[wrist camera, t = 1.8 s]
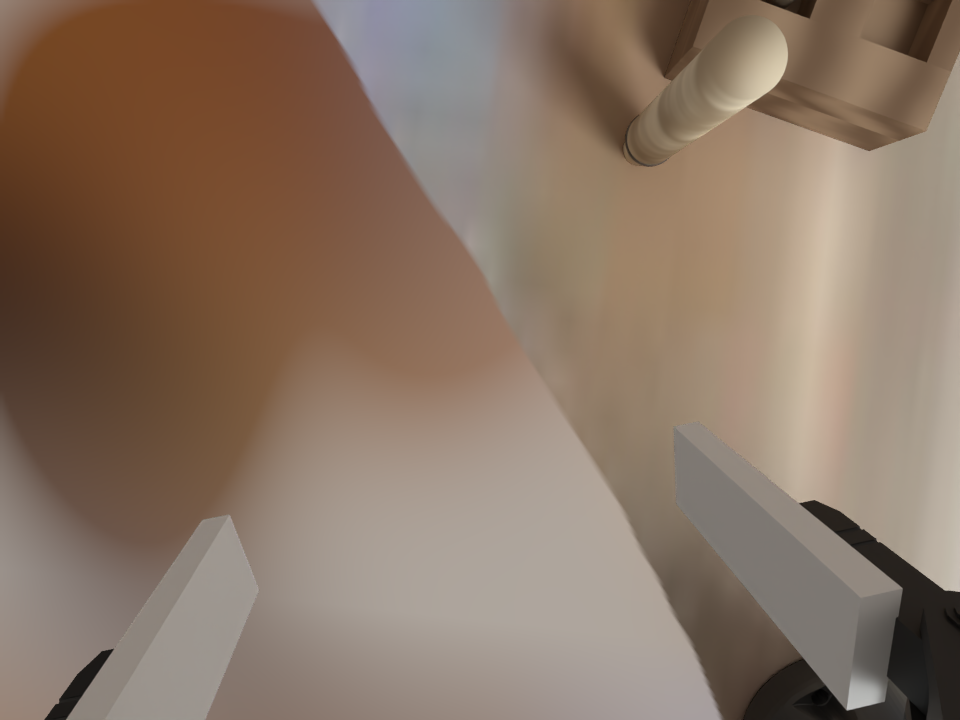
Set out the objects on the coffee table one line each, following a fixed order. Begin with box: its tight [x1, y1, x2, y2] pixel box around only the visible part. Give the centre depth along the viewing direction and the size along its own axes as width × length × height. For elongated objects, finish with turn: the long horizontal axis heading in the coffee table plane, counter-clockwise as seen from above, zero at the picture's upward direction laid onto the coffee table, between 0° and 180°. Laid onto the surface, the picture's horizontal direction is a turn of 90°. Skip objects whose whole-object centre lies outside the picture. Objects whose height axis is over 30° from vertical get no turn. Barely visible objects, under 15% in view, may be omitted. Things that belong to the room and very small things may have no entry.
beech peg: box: [623, 15, 788, 167], centre depth 28 cm, size 4×4×14 cm
